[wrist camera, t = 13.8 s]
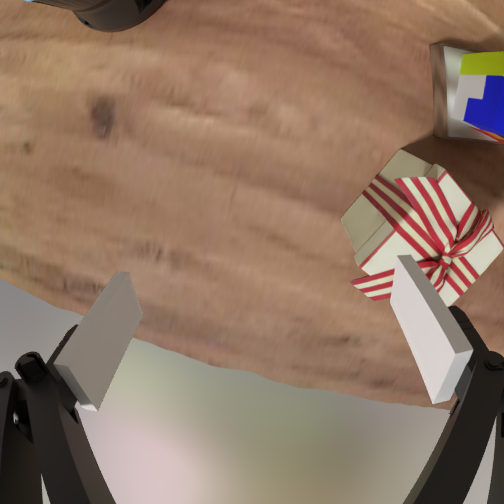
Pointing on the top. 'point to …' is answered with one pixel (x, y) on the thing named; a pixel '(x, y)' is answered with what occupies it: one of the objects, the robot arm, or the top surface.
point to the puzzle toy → (481, 93)
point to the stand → (450, 94)
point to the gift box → (419, 229)
